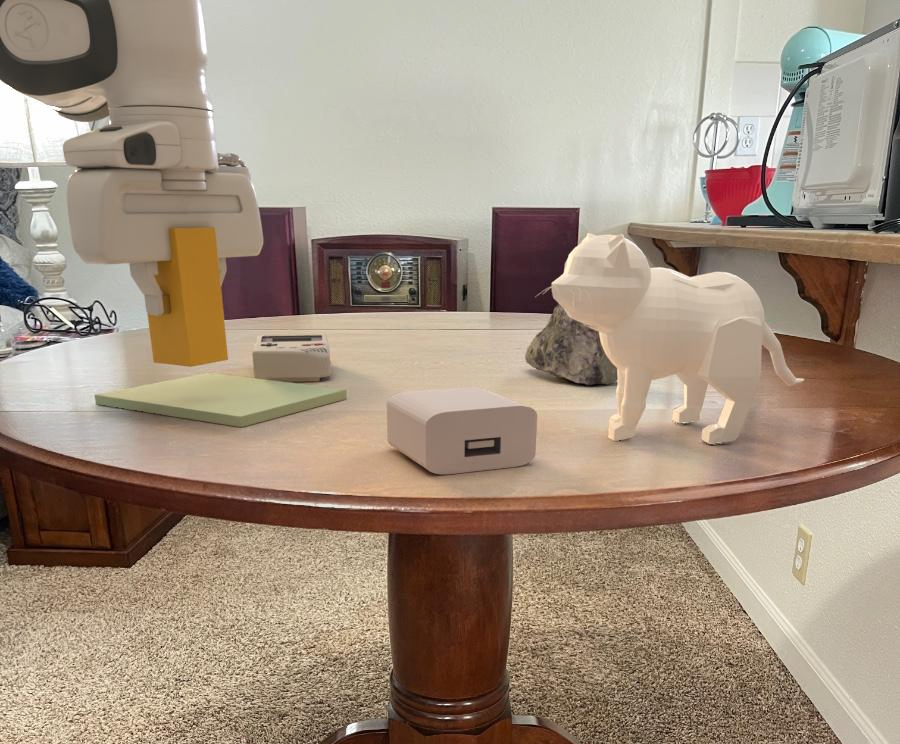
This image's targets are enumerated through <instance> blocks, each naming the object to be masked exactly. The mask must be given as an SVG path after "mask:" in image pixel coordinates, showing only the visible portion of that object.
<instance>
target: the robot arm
mask: <svg viewBox="0 0 900 744" xmlns="http://www.w3.org/2000/svg"><path fill="white" fill-rule="evenodd" d="M202 3H203V2H202V0H0V81H1V82H2V83H3V84H5V85H6V86H8V87H9V88H10V89H12V90H13V91H14V92H16V93H18V94H20V95H21V96H24V97H25V98H27V99H29V100H32V101H34V102H35V103H38V104H39V105H42V106H45V107H46V108H48V109H49V110H51V111H52V112H53V113H55V114H57V115H59V116H61V117H62V118H64V119H67V120H71V121H74V122H78V123H79V122H80V123H92V122H97V121H101V120H104V119H105V118H108V117H109V124H106V125H104V126H101V127H99V128H96V129H93V130H91V131H88V132H86V133H82V134H79V135H77V136H74V137H72V138H69V139H67V140H65V141H64V142H63V144H62V152H63V159H64V161H65V164H66V166H68V167H69V168H71V169H73V170H74V171H73V172H72V173H71V174H70V176H69V178H68V180H67V183H66V184H67V185H66V203H67V205H66V206H67V215H68V223H69V230H70V236H71V241H72V246H73V249H74V252H75V253H76V254H77V255H78V257H79V258H80V259H81V261H83V263H85V264H88V265H123V264H128V266H129V273H130V277H131V278H132V280H133V282H134V283H135V284H136V286H137V287H138V289H139V290H140V292H141V293H142V295H143V296H144V303H145V311H146V314H147V313H148V314H149V315H156V316H159V315H166V314H170V313H171V306H170V295H169V294H163V293H162V291H161V289H160V287H159V285H158V283H157V281H156V279H155V277H154V275H158V274H159V273H158V264H157V262H159V261H170V260H171V258H172V250H171V243H170V235H169V228H201V227H214V228H215V232H216V242H217V252H218V262H219V272H220V282H221V287H222V285H223V282H224V280H225V277H226V274H227V270H228V268H227V258H242V257H256V256H259V255H260V253H261V251H262V249H263V246H264V232H263V227H262V225H263V224H262V219H261V214H260V209H259V203H258V198H257V194H256V191H255V188H254V185H253V182H252V174H251V171H250V168H249V167H247V166H246V163H245V162H244V161H243V160H242V159H241V158H240V156H239V155H238V154H235V153H228V152H227V153H219V152H218V146H217V145H218V144H217V137H216V125H215V113H214V107H213V103H212V100H211V98H210V94H209V92H208V87H207V78H206V77H207V75H206V74H207V73H206V72H207V65H208V58H209V52H208V40H207V31H206V23H205V16H204V11H203V4H202Z"/></svg>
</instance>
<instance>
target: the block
mask: <svg viewBox="0 0 900 744" xmlns="http://www.w3.org/2000/svg"><path fill="white" fill-rule="evenodd" d="M169 235H170V243H171V250H172V258H171V260H170V261H159V262H157V264H158V273H159V274H158V275H154V277H155V279H156V281H157V283H158V285H159V287H160V289H161V291H162V293H163V294H169V295H170V306H171V313H170V314H166V315H159V316H156V315H149V314H148V313H147V312H146V314H147V315H146V316H147V323H148V329H149V337H150V344H151V345H150V346H151V352H152V359H153V360H152V361H153V363H155V364H161V365H172V366H179V367H181V366H182V367H189V368H191V367H198V366H203V365H208V364H214V363H219V362H224V361H228V360H229V354H228V343H227V336H226V334H227V333H226V324H225V323H226V322H225V314H224V303H223V293H222V286H221V282H220V272H219V262H218V252H217V242H216V232H215V228H214V227H201V228H169Z"/></svg>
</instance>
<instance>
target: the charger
mask: <svg viewBox="0 0 900 744" xmlns="http://www.w3.org/2000/svg"><path fill="white" fill-rule="evenodd" d="M537 426H538V413H537V411H536V410H535V409H534V408H532V407H530V406H528V405H525V404H523V403H521V402H517V401H515V400H513V399H510V398H507V397H505V396H503V395H500V394H498V393H495V392H492V391H491V390H488V389H485V388H483V387H479V386H463V387H462V386H461V387H449V388H448V387H447V388H434V389H422V390H419V389H418V390H407V391H401V392H397V393H395V394H393V395H391V396H390V397H389V398H388V399H387V401H386V431H387V434H386V435H387V437H386V438H387V441H388V442H387V443H388V444H389V445H390V446H391V447H392V448H394V449H396V450H397V451H398V452H400V453H402V454H403V455H404V456H406V457H407V458H409V459H411V460H412V461H413V462H415V463H416V464H418V465H419V466H421V467H423V468H424V469H425V470H427V471H429V472H430V473H432V474H435V475H453V474H464V473H472V472H474V473H475V472H481V471H491V470H500V469H509V468H517V467H521V466H525V465H527V464H529V463H530V462H532V461H533V460H534V458H535V457H536V454H537V452H536V451H537V431H538V430H537V429H538V428H537Z"/></svg>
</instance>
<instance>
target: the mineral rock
mask: <svg viewBox="0 0 900 744" xmlns="http://www.w3.org/2000/svg"><path fill="white" fill-rule="evenodd" d="M524 359H525V362H526V364H528V365H530V366H531V367H532V368H534V369H535V370H537V371H542V372H545V373H548V374H550V375H551V376H554V377H557V378H560V377H562V378H565V379H566V380H569V381H571V382H573V383H575V384H580V385H586V386H591V385H611V384H613V383H615V382H616V381H618V374H617V367H616V366H615V365H613V364H612V363H611V361H610V360H609V358H608V357H607V355H606V354H605V352H604V349H603V347H602V344H601V341H600V336H599V332H598V331H596V330H594V329H591V328H589V327H587V326H584V325H583V323H581V322H578V321H576V320H574V319H572V318H570V317H569V316H568V314H567V313H566V311H565V310H564V308H563V307H562V306H561V305H560V304H559V303H558V304H557V305H556V306H555V307H554V309H553V313H552V314H551V315H550V317H549V319H548V321H547V324H546V325H545V327H544V328H543V329H542V330H540V331H539V332H537V333H536V335H535V336H534V337H533V339H532V341H531V342H530V344H529V345H528V347H526V351H525V354H524Z"/></svg>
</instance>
